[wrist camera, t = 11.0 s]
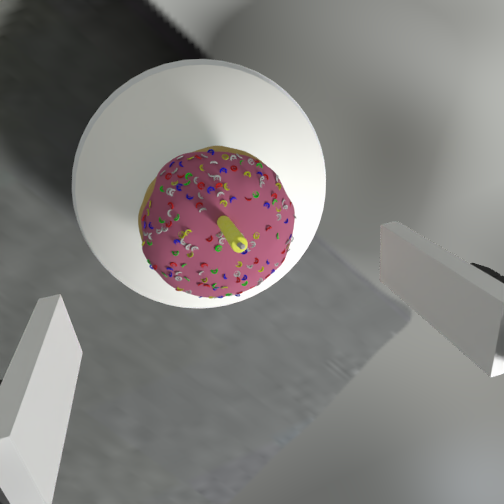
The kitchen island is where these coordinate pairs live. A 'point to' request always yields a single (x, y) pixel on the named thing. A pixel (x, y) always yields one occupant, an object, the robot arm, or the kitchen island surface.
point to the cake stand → (185, 141)
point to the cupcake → (216, 222)
